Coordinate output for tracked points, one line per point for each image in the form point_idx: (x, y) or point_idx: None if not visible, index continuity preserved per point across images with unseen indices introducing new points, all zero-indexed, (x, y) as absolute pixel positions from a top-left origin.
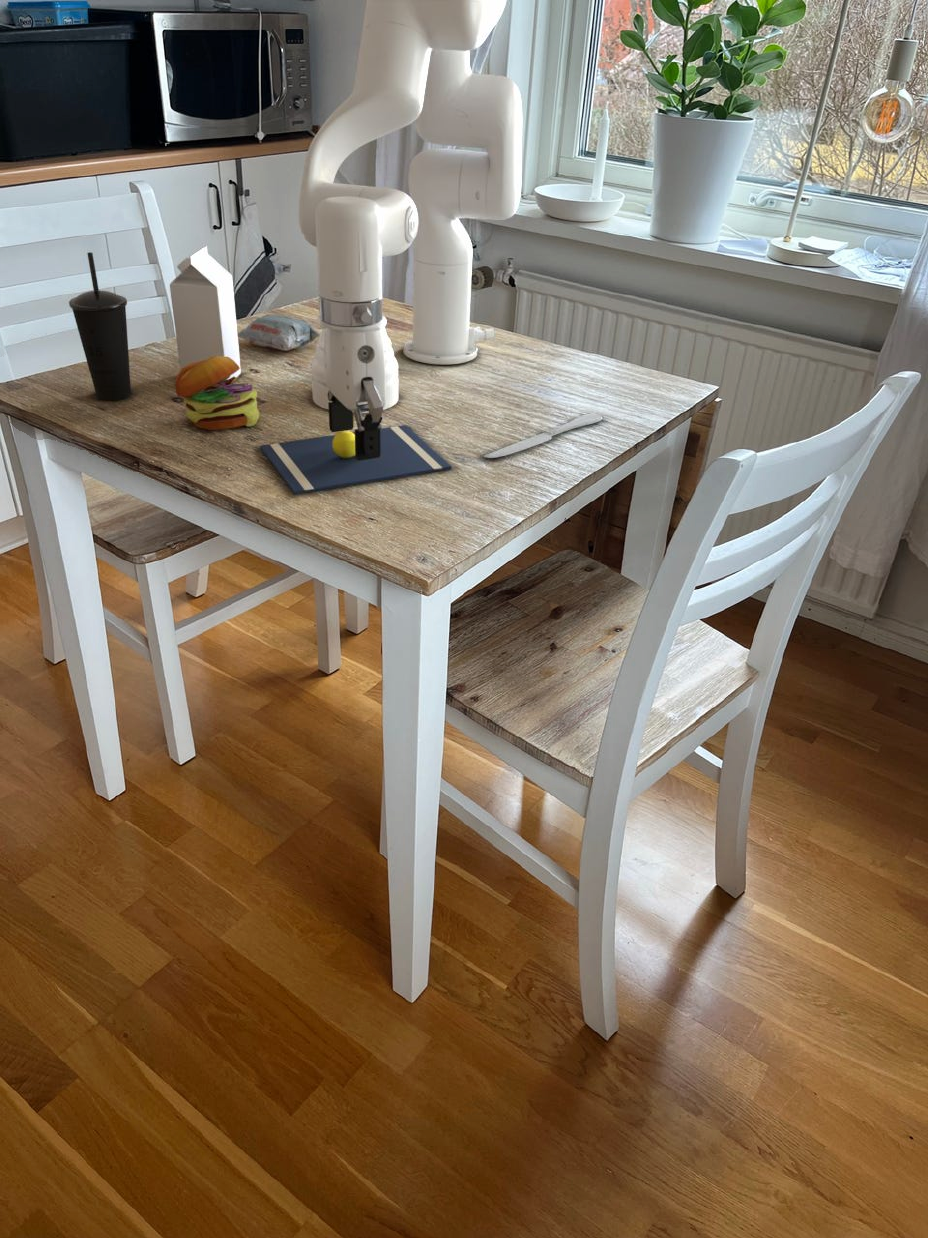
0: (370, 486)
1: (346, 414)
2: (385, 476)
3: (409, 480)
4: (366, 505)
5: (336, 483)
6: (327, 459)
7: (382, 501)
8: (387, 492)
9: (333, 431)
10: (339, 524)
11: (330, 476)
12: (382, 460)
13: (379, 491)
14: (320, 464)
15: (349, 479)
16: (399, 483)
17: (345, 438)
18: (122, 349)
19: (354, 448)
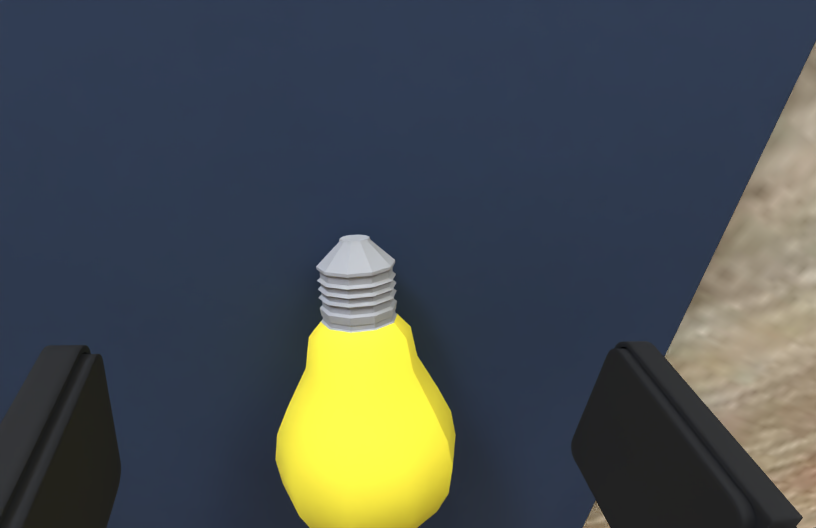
0: (679, 366)
1: (66, 508)
2: (687, 298)
3: (775, 185)
4: (783, 423)
5: None
6: None
7: (810, 369)
8: (775, 327)
9: (120, 468)
10: (799, 510)
11: (523, 487)
12: (516, 235)
13: (742, 351)
14: None
15: None
16: (758, 246)
17: (427, 514)
18: None
19: (451, 424)
